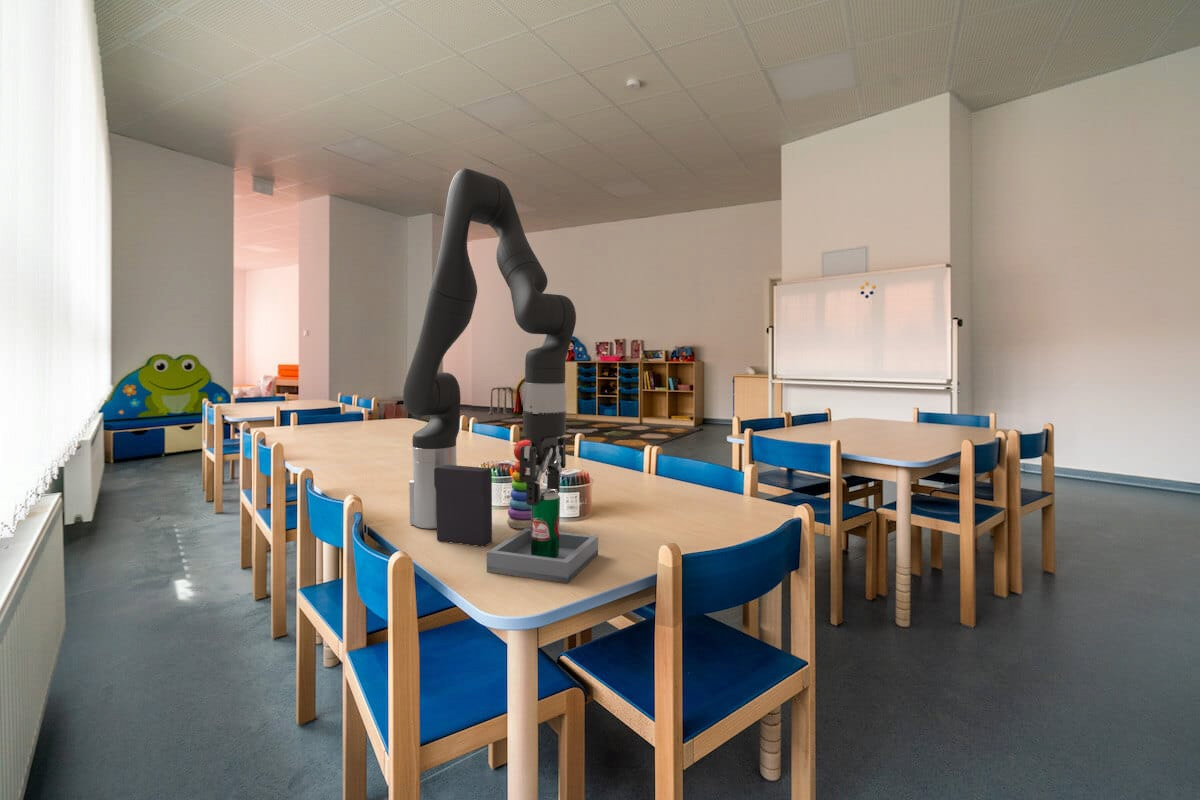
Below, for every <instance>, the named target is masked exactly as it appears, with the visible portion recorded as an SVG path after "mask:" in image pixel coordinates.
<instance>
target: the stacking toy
mask: <svg viewBox="0 0 1200 800" xmlns="http://www.w3.org/2000/svg"><path fill="white" fill-rule="evenodd" d="M530 441H531V439H530V440H529V439H521V440H519V441H518V442H516V444H515V446H514V448H513V455H514V458H515V459H516V460H517V461H516V462H515V463H514V465H513V468H514V472H513V473H512V475H511V476H512V477H511V478H512V479H513V480H512V482H511V488H512V490H511V491H510V497H511V498H510V500H509V506H510V507H509V508H508V510H507V515H508V517H507V519H506V521H507V524H508V526H509V527H511V528H514V529H520V530H524V529H525V528H529V529H531V505H528V504H527V503H526V489H527V484H526V483H525V482H521V481H520V480H519V473H520V449H521V446H530ZM526 471H527V469H526V468H525V474H526ZM536 474H537V472H536Z"/></svg>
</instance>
